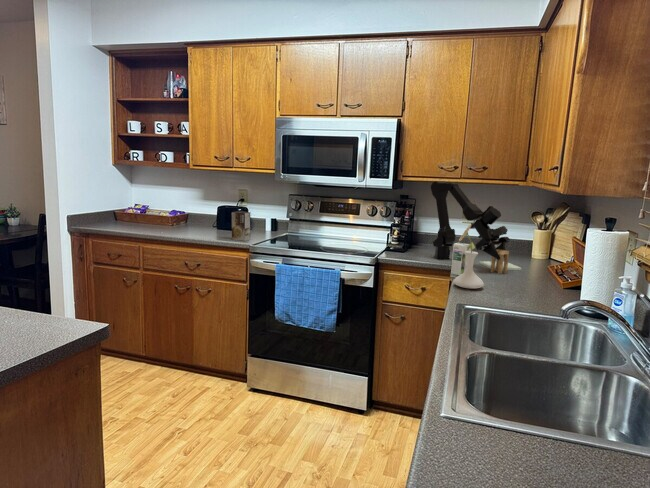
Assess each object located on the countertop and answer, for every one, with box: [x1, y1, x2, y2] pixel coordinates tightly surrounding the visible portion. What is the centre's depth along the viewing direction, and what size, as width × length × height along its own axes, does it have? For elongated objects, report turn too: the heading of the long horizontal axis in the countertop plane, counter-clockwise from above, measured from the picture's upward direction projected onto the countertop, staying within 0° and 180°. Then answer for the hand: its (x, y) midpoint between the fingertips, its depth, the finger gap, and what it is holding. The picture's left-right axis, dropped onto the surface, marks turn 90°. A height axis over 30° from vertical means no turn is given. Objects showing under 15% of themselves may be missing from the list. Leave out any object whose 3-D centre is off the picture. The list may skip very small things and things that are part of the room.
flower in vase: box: [453, 223, 485, 290], centre depth 176 cm, size 13×11×25 cm
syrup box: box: [450, 242, 471, 279], centre depth 193 cm, size 6×6×14 cm
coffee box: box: [231, 211, 252, 242], centre depth 265 cm, size 9×6×16 cm
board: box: [478, 260, 523, 271], centre depth 220 cm, size 14×14×1 cm
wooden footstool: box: [490, 249, 510, 275], centre depth 207 cm, size 5×5×10 cm
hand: (502, 258), depth 205 cm, fingers closed on wooden footstool, 5 cm apart
